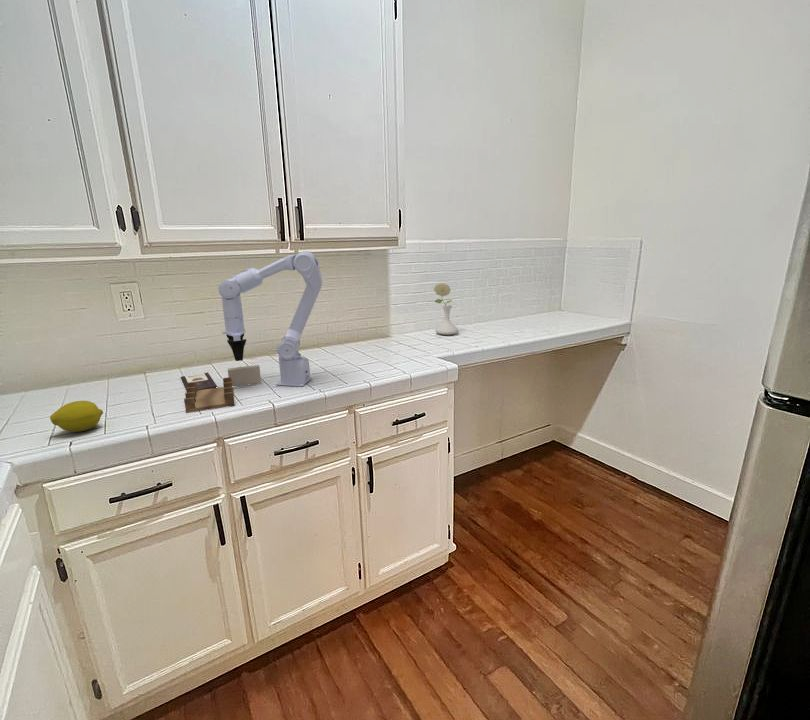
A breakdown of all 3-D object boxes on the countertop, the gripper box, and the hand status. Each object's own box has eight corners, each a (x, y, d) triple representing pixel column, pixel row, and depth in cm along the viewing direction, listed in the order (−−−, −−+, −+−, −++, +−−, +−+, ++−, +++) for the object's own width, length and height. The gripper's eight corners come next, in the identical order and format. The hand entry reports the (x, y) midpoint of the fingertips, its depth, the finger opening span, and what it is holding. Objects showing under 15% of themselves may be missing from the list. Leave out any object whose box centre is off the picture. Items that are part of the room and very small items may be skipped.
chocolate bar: (187, 391, 140) (180, 376, 155) (187, 394, 140) (181, 379, 155) (217, 386, 145) (207, 372, 159) (217, 388, 145) (208, 374, 159)
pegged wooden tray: (232, 388, 144) (231, 377, 142) (234, 405, 129) (232, 392, 128) (189, 394, 139) (187, 382, 138) (186, 412, 125) (183, 399, 123)
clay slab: (260, 381, 151) (258, 364, 149) (261, 383, 148) (259, 366, 147) (229, 385, 147) (227, 368, 145) (229, 387, 145) (227, 370, 143)
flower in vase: (462, 332, 218) (463, 282, 211) (452, 337, 208) (453, 284, 201) (438, 330, 224) (439, 281, 217) (428, 334, 215) (428, 283, 208)
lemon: (108, 421, 120) (101, 393, 118) (103, 432, 113) (97, 403, 111) (59, 429, 115) (52, 400, 113) (51, 441, 109) (43, 411, 106)
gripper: (219, 314, 145) (224, 353, 149) (220, 322, 133) (226, 364, 136) (242, 312, 148) (246, 351, 152) (245, 320, 135) (249, 362, 139)
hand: (238, 357), depth 144 cm, fingers open, 7 cm apart
